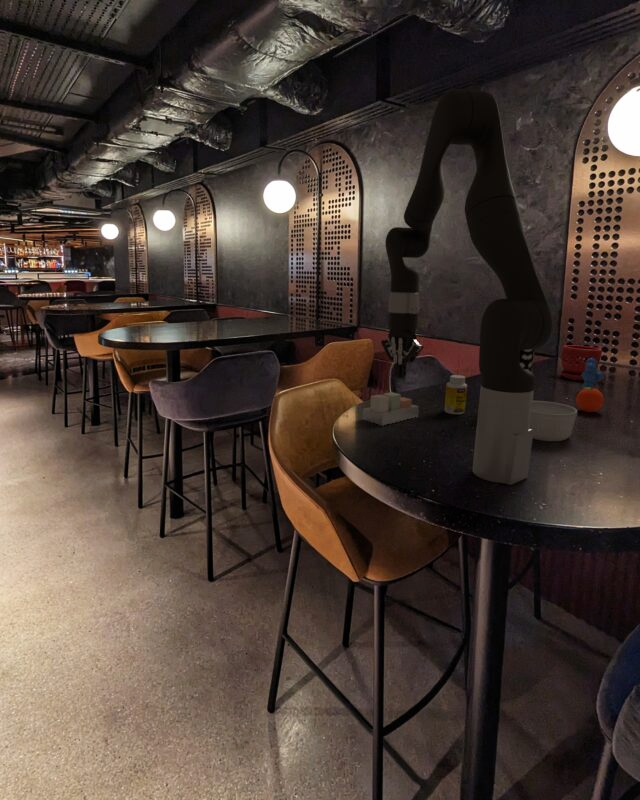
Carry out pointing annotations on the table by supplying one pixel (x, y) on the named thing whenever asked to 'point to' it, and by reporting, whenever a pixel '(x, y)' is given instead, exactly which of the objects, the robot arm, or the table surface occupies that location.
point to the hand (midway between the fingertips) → (399, 377)
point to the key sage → (393, 400)
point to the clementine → (589, 399)
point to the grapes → (591, 374)
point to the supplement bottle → (455, 395)
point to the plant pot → (577, 360)
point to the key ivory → (379, 403)
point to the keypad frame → (390, 415)
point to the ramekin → (551, 420)
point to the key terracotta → (405, 402)
